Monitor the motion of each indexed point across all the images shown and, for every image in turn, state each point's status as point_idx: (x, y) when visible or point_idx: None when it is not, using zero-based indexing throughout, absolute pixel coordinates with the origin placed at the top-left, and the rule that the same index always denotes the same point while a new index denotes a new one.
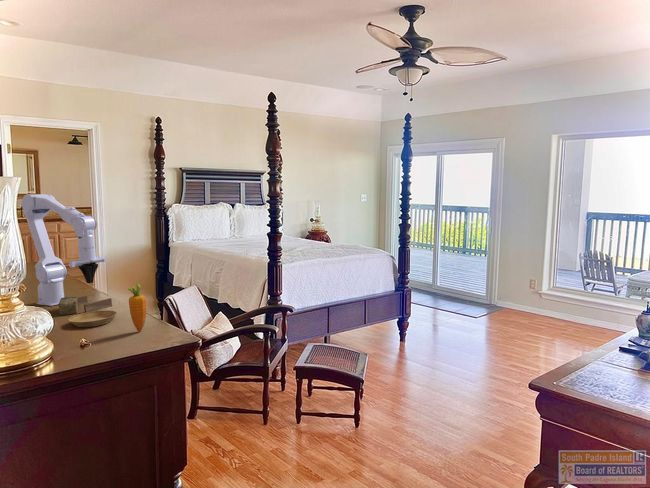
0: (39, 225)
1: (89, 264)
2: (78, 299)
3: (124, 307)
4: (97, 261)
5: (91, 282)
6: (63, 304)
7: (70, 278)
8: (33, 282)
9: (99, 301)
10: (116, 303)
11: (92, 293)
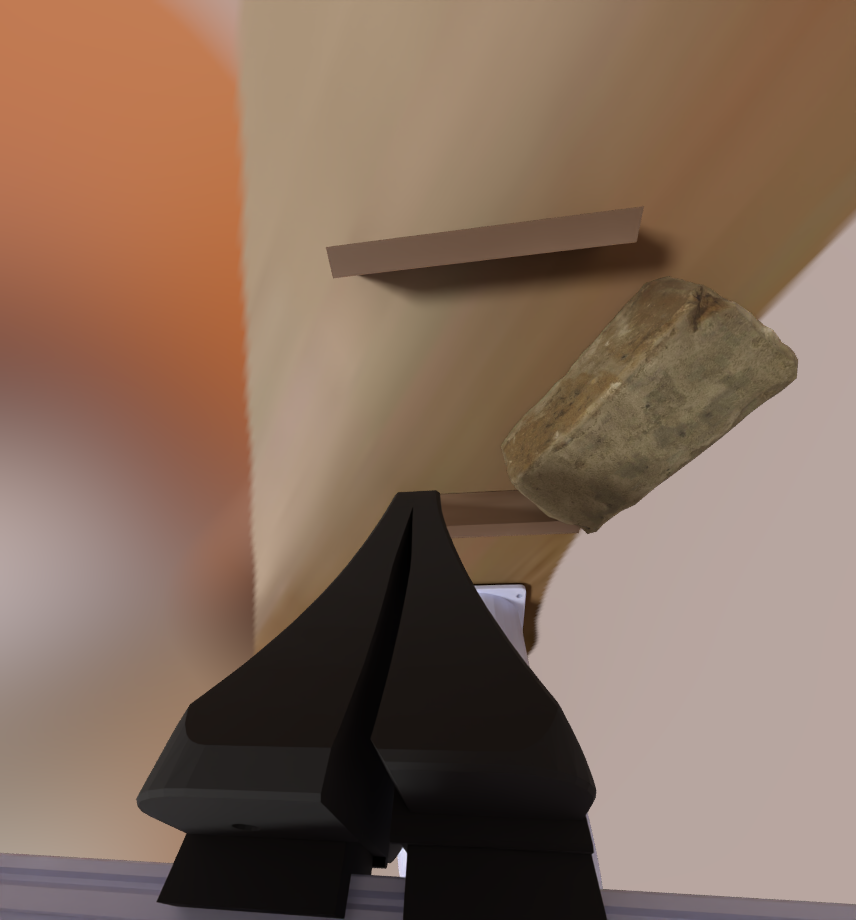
0: None
1: (356, 854)
2: (453, 517)
3: (296, 10)
4: (88, 917)
5: (418, 494)
6: (779, 343)
7: None
8: None
9: (471, 228)
10: (282, 308)
11: (281, 626)
